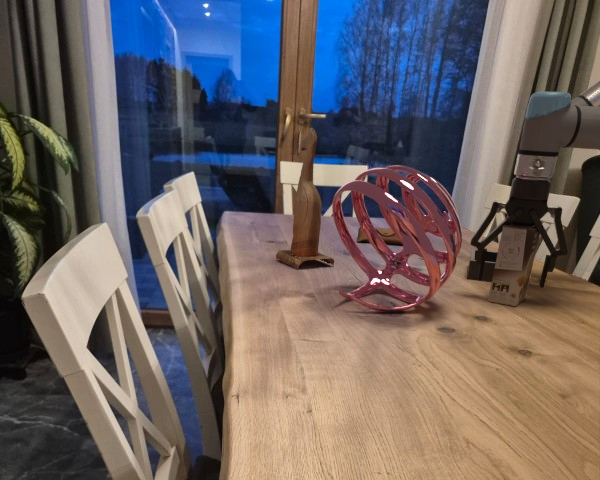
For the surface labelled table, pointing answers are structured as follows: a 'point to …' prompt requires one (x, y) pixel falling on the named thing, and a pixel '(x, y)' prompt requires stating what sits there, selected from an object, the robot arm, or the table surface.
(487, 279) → the box
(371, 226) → the spiral basket
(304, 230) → the bird sculpture
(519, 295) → the coffee box
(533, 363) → the table surface
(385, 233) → the sunglasses case
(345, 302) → the table surface
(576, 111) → the robot arm
